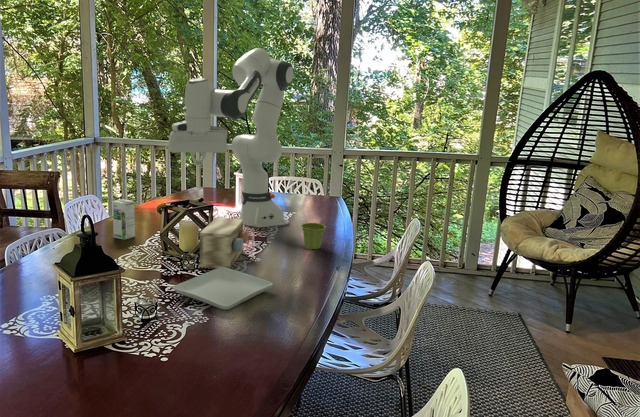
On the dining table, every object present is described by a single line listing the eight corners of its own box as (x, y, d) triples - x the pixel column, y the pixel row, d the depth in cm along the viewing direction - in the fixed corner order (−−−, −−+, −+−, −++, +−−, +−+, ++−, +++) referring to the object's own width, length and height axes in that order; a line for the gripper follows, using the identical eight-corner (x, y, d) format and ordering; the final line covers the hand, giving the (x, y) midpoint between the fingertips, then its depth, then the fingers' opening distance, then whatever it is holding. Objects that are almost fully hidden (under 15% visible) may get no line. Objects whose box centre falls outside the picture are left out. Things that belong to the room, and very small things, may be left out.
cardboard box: (199, 267, 162) (199, 232, 159) (216, 248, 182) (216, 217, 179) (229, 269, 162) (229, 234, 159) (242, 250, 181) (243, 219, 178)
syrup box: (113, 237, 187) (111, 201, 184) (125, 234, 193) (123, 198, 189) (123, 240, 185) (122, 203, 182) (135, 236, 190) (134, 200, 187)
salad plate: (226, 317, 129) (226, 305, 128) (170, 296, 139) (170, 285, 139) (274, 292, 146) (275, 282, 146) (222, 275, 157) (222, 265, 156)
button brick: (227, 243, 173) (227, 231, 172) (230, 240, 177) (230, 228, 176) (245, 245, 172) (245, 233, 171) (248, 241, 177) (248, 229, 176)
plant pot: (327, 246, 192) (329, 224, 190) (319, 252, 184) (321, 230, 182) (305, 242, 195) (306, 221, 193) (296, 249, 187) (297, 227, 185)
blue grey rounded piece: (220, 251, 164) (220, 239, 163) (223, 247, 168) (223, 235, 167) (239, 253, 164) (240, 240, 163) (242, 249, 168) (243, 236, 167)
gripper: (225, 125, 178) (225, 163, 181) (167, 124, 170) (168, 163, 173) (229, 127, 173) (228, 166, 176) (169, 125, 165) (170, 166, 168)
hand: (198, 164), depth 175 cm, fingers closed
